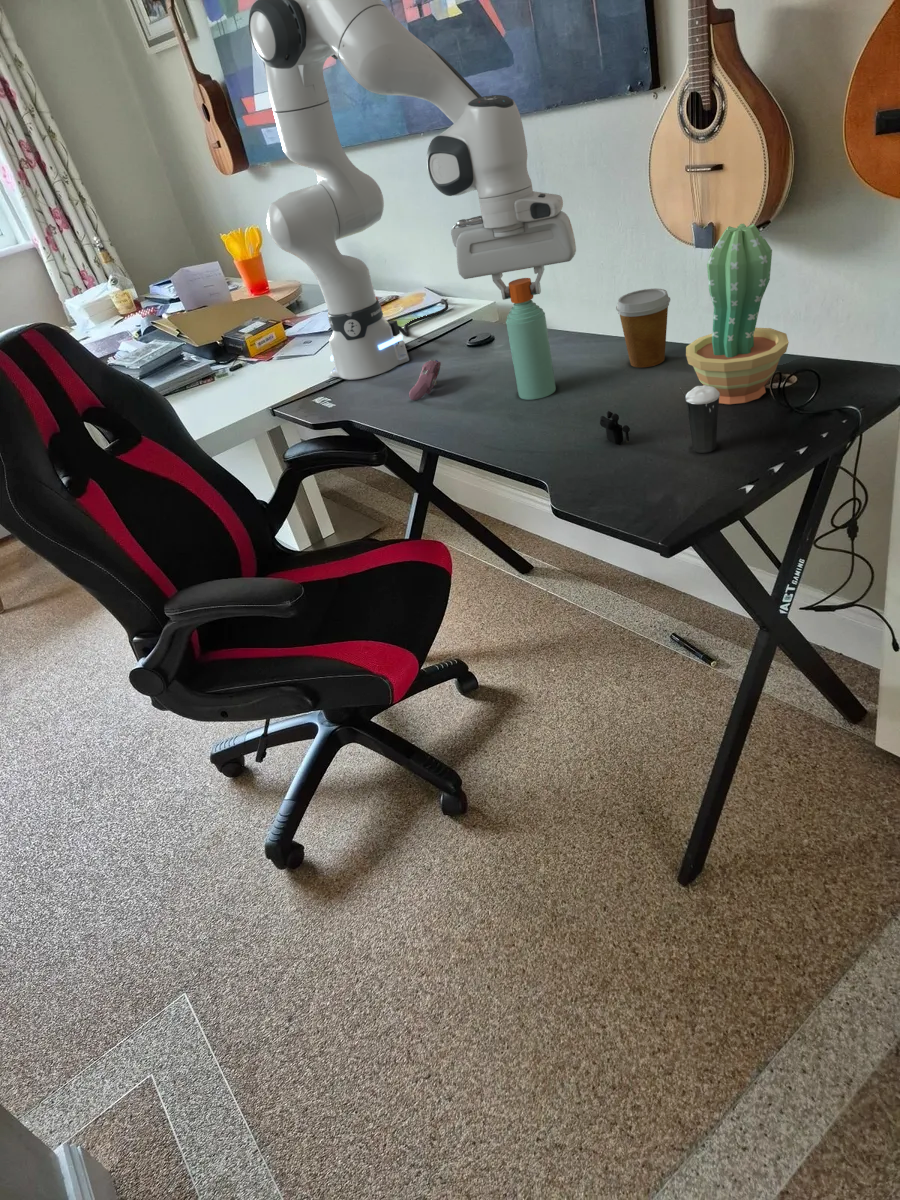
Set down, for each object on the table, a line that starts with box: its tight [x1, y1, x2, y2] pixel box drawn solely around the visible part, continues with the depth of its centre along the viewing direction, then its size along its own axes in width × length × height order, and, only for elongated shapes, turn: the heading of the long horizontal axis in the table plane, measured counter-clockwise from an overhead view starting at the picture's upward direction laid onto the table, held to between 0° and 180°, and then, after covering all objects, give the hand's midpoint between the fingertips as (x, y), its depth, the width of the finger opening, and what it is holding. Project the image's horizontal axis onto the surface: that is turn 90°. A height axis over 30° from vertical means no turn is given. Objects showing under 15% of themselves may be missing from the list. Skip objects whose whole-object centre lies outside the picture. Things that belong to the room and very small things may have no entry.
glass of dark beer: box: [679, 384, 720, 454], centre depth 110 cm, size 4×5×10 cm
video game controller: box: [408, 359, 442, 401], centre depth 157 cm, size 10×5×7 cm, turn 168°
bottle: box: [505, 299, 557, 401], centre depth 140 cm, size 7×7×20 cm
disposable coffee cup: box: [615, 288, 671, 369], centre depth 142 cm, size 10×10×12 cm
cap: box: [508, 277, 535, 304], centre depth 135 cm, size 4×4×3 cm
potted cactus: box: [685, 223, 790, 405], centre depth 119 cm, size 15×15×25 cm
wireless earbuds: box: [599, 410, 631, 445], centre depth 119 cm, size 7×2×5 cm, turn 28°
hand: (522, 296), depth 136 cm, fingers closed on cap, 4 cm apart
